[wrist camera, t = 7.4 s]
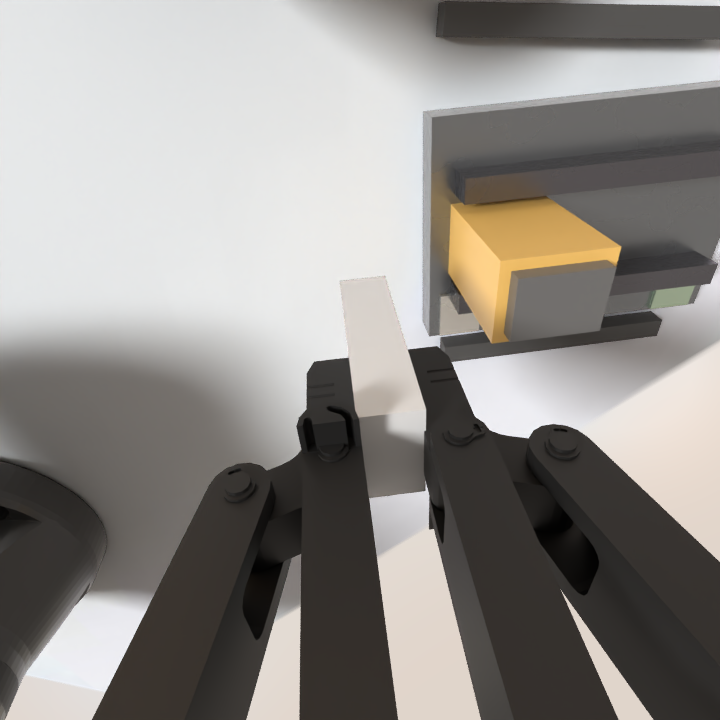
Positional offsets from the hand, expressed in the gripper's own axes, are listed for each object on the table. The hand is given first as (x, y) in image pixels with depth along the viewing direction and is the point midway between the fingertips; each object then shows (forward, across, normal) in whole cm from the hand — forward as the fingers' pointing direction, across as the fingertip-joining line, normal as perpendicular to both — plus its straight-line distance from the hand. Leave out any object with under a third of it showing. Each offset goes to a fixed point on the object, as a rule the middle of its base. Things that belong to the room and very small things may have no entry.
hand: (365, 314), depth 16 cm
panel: (+7, +10, 0) cm, 13 cm away
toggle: (+6, +6, 0) cm, 9 cm away
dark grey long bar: (+7, +10, -7) cm, 14 cm away
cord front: (+7, +10, +7) cm, 14 cm away
